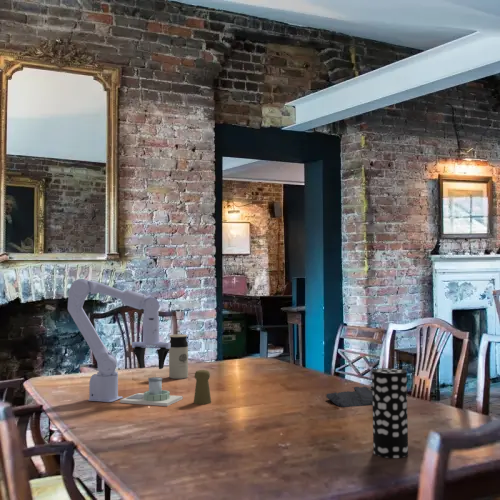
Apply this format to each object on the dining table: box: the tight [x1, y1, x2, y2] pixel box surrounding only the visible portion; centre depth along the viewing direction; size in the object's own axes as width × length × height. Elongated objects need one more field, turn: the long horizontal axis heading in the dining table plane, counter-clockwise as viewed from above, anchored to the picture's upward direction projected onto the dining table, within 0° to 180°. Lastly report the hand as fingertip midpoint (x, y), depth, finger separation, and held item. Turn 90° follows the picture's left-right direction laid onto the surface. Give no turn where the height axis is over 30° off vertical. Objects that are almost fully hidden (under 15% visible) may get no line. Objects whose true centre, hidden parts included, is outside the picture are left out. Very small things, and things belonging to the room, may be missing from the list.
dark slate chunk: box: [326, 385, 373, 408], centre depth 208 cm, size 15×22×5 cm
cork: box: [193, 369, 212, 405], centre depth 208 cm, size 6×6×11 cm
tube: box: [147, 376, 163, 395], centre depth 210 cm, size 5×5×7 cm
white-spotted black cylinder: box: [371, 367, 409, 459], centre depth 149 cm, size 8×8×20 cm
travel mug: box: [168, 333, 189, 380], centre depth 258 cm, size 8×8×18 cm
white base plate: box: [119, 389, 184, 407], centre depth 211 cm, size 18×12×3 cm, turn 70°
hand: (151, 368), depth 217 cm, fingers open, 7 cm apart
